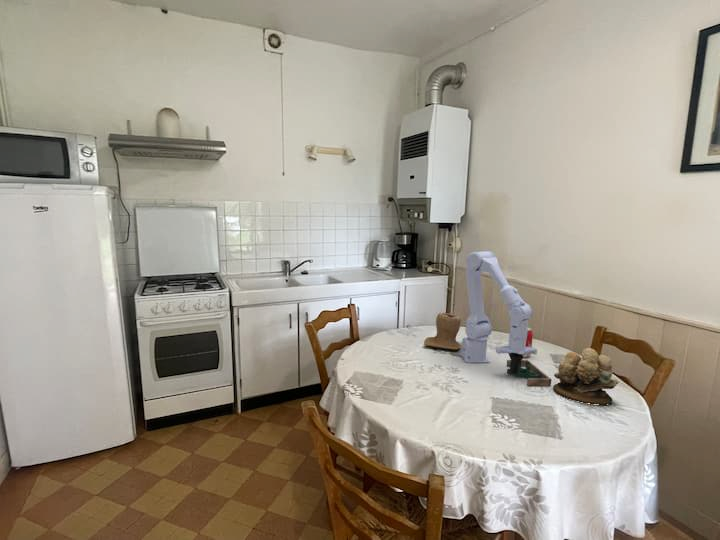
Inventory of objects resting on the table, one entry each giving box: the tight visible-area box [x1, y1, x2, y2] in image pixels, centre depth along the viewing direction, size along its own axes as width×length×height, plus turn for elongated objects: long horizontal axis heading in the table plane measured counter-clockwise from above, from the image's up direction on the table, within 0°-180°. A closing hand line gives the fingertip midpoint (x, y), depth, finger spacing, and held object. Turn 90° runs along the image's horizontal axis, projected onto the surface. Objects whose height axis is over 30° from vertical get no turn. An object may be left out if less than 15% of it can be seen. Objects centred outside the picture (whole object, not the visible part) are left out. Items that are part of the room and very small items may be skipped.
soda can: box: [522, 326, 534, 358], centre depth 154 cm, size 7×7×12 cm
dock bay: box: [506, 359, 552, 387], centre depth 135 cm, size 8×17×2 cm, turn 3°
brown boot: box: [423, 312, 462, 351], centre depth 162 cm, size 15×12×15 cm
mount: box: [506, 361, 539, 379], centre depth 135 cm, size 11×4×5 cm, turn 67°
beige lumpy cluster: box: [552, 347, 620, 406], centre depth 120 cm, size 18×12×17 cm, turn 65°
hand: (513, 371), depth 135 cm, fingers closed, pressing on mount
